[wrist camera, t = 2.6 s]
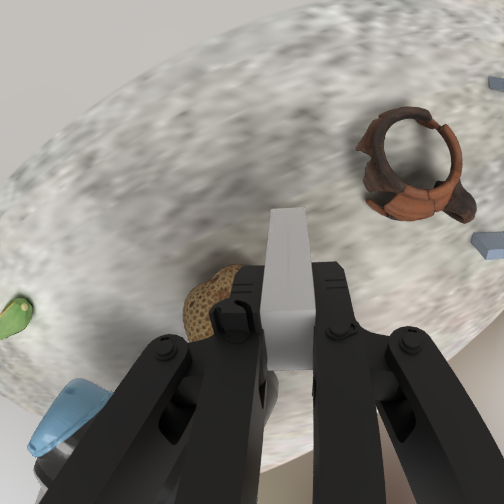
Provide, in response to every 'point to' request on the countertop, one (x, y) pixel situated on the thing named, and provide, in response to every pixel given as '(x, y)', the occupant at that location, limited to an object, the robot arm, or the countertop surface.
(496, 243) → the blue-grey u-shaped frame
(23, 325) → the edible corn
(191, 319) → the natural sponge
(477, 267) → the countertop surface
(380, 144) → the brown curved ring piece
